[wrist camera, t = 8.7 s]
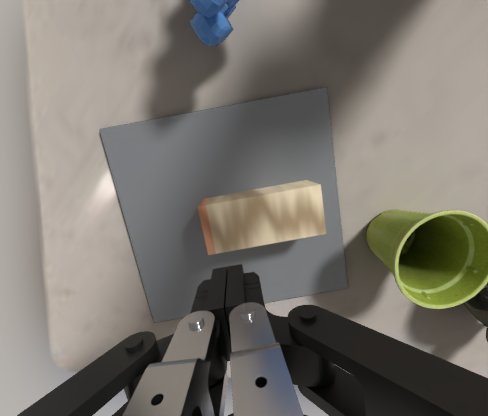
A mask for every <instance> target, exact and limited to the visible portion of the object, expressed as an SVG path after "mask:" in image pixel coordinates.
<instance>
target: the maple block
mask: <svg viewBox="0 0 488 416" xmlns="http://www.w3.org/2000/svg"><path fill="white" fill-rule="evenodd" d="M198 211H199V216H200V220H201V225H202V229H203V234H204V238H205V243H206V247H207V252H208V255H212V254H218V253H223V252H229V251H234V250H240V249H245V248H251V247H256V246H262V245H267V244H273V243H278V242H284V241H289V240H295V239H300V238H306V237H312V236H317V235H323V234H327V233H326V225H325V216H324V208H323V199H322V191H321V184H318V183H314V182H311V181H308V180H304V181H298V182H293V183H287V184H282V185H276V186H271V187H265V188H260V189H254V190H249V191H243V192H238V193H232V194H227V195H221V196H216V197H210V198H205V199H203V201H202V202H201V203H200V204H199V206H198Z"/></svg>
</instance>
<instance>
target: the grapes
mask: <svg viewBox="0 0 488 416" xmlns="http://www.w3.org/2000/svg"><path fill="white" fill-rule="evenodd" d="M189 1H190V2H191V4H192V5H193V7H194V8H195V9H196V11H197V13H196V14H195V15H194V17H193V18H192V20H191V21H190V24H191V26H192V28H193V30H194V31H195V33H196V35H197V36H198V38H199V39H200V40H201V41H202V42H203V43H204V44H206V45H208V46H214V45H218V44H220V43H221V42H223V41H224V40H225V39H226V38H227V37H228V35H229V34H230V33H231V31H232V30H233V28H232V26H231V24H230V22H229V20H228V19H227V18H228V17H229V16H230V15H231V13H232V12H233V11H234V9H235V8H236V6H235V5H236V4H237V2H238V1H239V0H189Z"/></svg>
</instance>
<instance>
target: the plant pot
mask: <svg viewBox="0 0 488 416" xmlns="http://www.w3.org/2000/svg"><path fill="white" fill-rule="evenodd" d="M410 235H411V237H410V240H409V241H407V238H408V237H409V236H410ZM366 239H367V243H368V246H369V247H370V249H371V250H372V252H373V253H374V254H375V255H376V256H377V257H378V258H379V259H380V260H381V261H382V262H383V263H384V264H385V265H386V267H387V268H388V269H389V270H390V271H391V272H392V273H393V275H394V277H395V281H396V283H397V285H398V287H399V289H400V291H401V292H402V293H403V294H404V295H405V296H406V297H407V298H408V299H409V300H410V301H412V302H414V303H415V304H417V305H420V306H422V307H426V308H432V309H445V308H450V307H454V306H456V305H459V304H462V303H464V302H465V301H468V300H469V299H471V298H472V297H474V296H475V295H476V294H477V293H478V292H480V291H481V290H482V288H483V287H484V286H485V285H486V284H487V282H488V225H487V224H486V223H485V222H484V221H483V220H482V219H480V218H479V217H477V216H476V215H474V214H471V213H468V212H464V211H457V210H447V211H441V212H436V213H431V214H427V213H418V212H408V211H400V210H389V211H385V212H383V213H382V214H380V215H379V216H378V217H376V218H375V219H373V220H372V222H371V223H370V225H369V227H368V229H367V234H366Z"/></svg>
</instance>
